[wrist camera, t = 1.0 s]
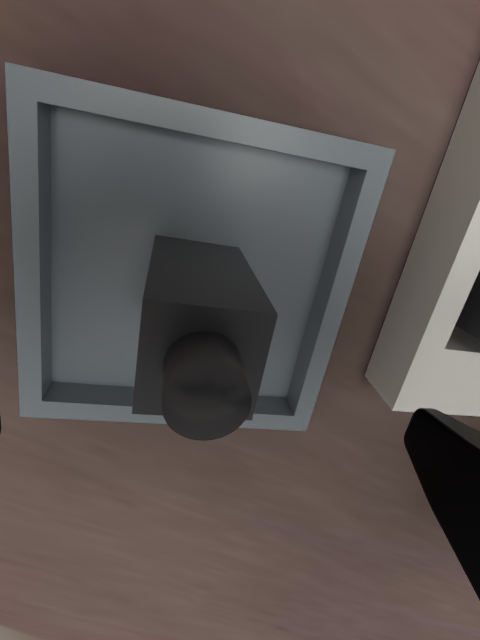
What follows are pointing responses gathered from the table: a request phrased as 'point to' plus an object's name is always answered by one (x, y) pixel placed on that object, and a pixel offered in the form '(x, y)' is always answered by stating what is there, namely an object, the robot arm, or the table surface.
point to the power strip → (438, 290)
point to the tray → (171, 235)
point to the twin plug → (471, 311)
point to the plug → (201, 338)
